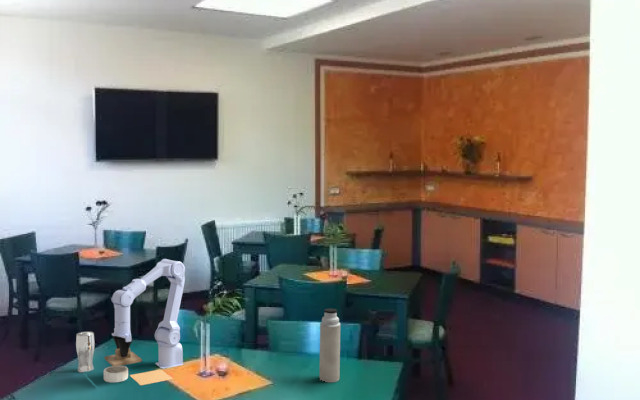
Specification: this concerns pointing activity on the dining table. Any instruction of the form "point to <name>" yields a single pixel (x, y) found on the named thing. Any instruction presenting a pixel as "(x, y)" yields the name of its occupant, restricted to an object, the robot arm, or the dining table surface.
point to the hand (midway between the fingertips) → (122, 355)
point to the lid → (122, 358)
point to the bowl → (115, 374)
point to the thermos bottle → (330, 346)
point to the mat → (151, 377)
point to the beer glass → (85, 351)
